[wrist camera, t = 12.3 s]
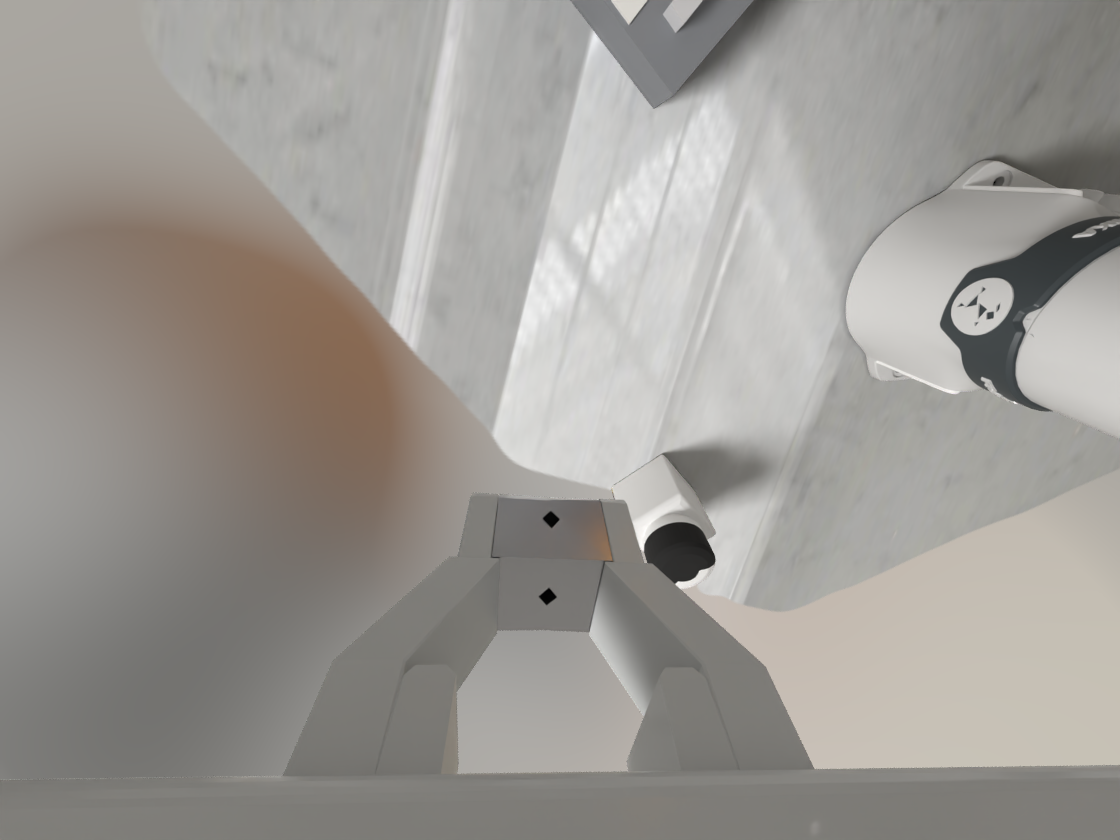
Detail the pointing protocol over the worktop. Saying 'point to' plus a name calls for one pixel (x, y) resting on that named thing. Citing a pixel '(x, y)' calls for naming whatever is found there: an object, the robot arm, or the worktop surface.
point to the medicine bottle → (668, 522)
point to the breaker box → (660, 37)
